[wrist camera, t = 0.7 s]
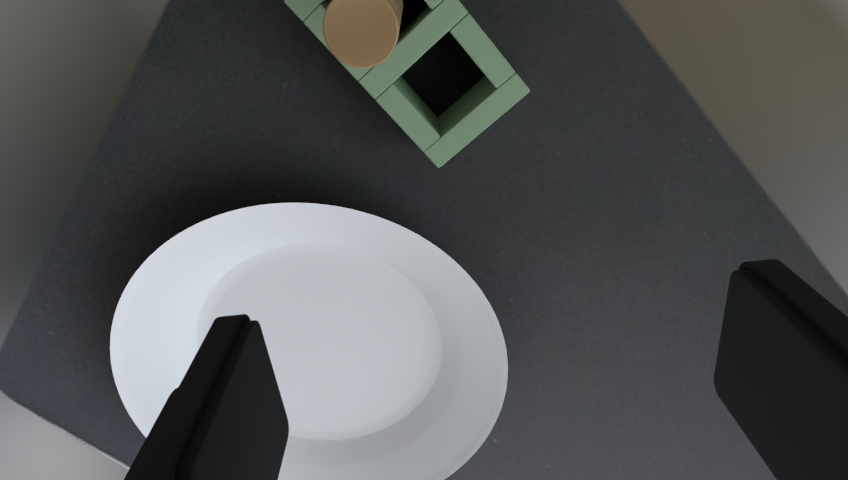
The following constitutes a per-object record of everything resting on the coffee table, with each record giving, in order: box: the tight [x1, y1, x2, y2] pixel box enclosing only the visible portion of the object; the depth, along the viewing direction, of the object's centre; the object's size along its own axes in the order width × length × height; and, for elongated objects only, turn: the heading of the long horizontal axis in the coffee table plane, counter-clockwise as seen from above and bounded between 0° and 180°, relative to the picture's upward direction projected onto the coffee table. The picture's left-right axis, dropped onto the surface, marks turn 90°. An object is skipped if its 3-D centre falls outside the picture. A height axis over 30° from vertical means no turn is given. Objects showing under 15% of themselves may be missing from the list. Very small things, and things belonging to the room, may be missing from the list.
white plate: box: [110, 203, 508, 480], centre depth 38 cm, size 25×25×4 cm
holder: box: [284, 0, 530, 168], centre depth 28 cm, size 11×6×4 cm, turn 42°
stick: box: [323, 0, 404, 68], centre depth 23 cm, size 2×2×13 cm
